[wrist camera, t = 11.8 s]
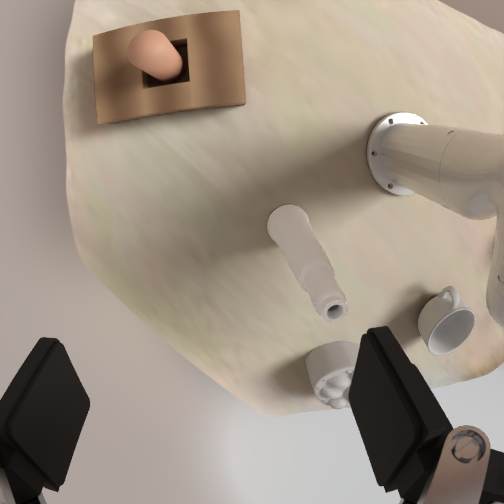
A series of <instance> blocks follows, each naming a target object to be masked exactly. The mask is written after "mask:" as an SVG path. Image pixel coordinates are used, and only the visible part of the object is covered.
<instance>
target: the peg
mask: <svg viewBox="0 0 504 504" xmlns="http://www.w3.org/2000/svg"><path fill="white" fill-rule="evenodd" d="M127 56H128V59H129V61H130V62H131V63H132V64H133V65H134V66H136V67H138V68H139V69H141V70H143V71H145V72H146V73H148V74H150V75H152V76H153V77H155V78H157V79H158V80H160V81H162V82H164V83H174V82H176V81H178V80H180V79H181V78H182V77H183V75H184V73H185V71H186V64H185V62H184V60H183V59H182V57H181V56H180V55H179V53H178V52H177V51H176V49H175V48H174V47H173V45H172V44H171V43H170V41H169V40H168V39H167V37H166V36H165V35H164V34H163V33H161V32H159V31H156V30H147V31H143V32H141V33H139V34H138V35H136V36H135V37H134V38H133V39H132V40H131V42H130V44H129V46H128V50H127Z"/></svg>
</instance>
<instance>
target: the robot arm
mask: <svg viewBox="0 0 504 504" xmlns="http://www.w3.org/2000/svg"><path fill="white" fill-rule="evenodd" d="M388 120H389V122H388ZM372 151H373V154H372ZM367 160H368V165H369V168H370V171H371V173H372V175H373V177H374V179H375V180H376V181H377V183H378V184H379V185H380V186H381V187H383V188H384V189H385V190H387V191H389V192H391V193H393V194H396V195H401V196H408V195H412V194H415V193H417V194H419V195H421V196H424V197H426V198H428V199H430V200H432V201H434V202H436V203H438V204H440V205H442V206H444V207H446V208H448V209H449V210H452V211H454V212H456V213H457V214H459V215H461V216H463V217H466V218H468V219H473V220H484V219H488V218H491V217H494V216H496V215H497V223H496V236H495V243H494V250H493V256H492V262H491V267H490V272H489V278H488V284H487V290H486V303H487V308H488V310H489V313H490V315H491V316H492V318H493V319H494V320H495V321H496V322H497V323H498V324H499V325H500V326H501V327H503V328H504V135H501V134H493V133H485V132H479V131H473V130H466V129H459V128H452V127H445V126H436V125H428V124H427V122H426V121H425V120H423V119H422V118H421V117H419V116H417V115H415V114H412V113H408V112H397V113H392V114H389V115H387V116H385V117H384V118H382V119H381V120H380V121H379V122H378V123H377V124H376V125H375V127H374V129H373V130H372V132H371V135H370V137H369V140H368V145H367ZM388 184H389V186H388ZM348 398H349V403H350V406H351V409H352V412H353V414H354V417H355V420H356V423H357V425H358V428H359V431H360V434H361V437H362V439H363V442H364V445H365V448H366V451H367V454H368V457H369V460H370V463H371V466H372V469H373V472H374V475H375V477H376V481H377V483H378V485H379V486H384V488H385V491H386V493H387V492H390V491H393V490H396V489H398V492H399V494H400V497H401V501H400V503H399V504H504V453H503V452H500V451H496V450H493V449H490V442H489V439H488V437H487V436H486V434H485V433H484V432H483V431H481V430H480V429H479V428H476V427H474V426H468V425H465V426H459V427H457V428H455V429H453V427H452V425H451V424H450V422H449V420H448V418H447V417H446V415H445V413H444V411H443V410H442V408H441V406H440V405H439V403H438V401H437V400H436V398H435V397H434V394H433V393H432V391H431V389H430V388H429V386H428V384H427V383H426V381H425V380H424V378H423V376H422V375H421V373H420V372H419V370H418V368H417V367H416V366H415V365H414V364H412V363H411V362H410V360H409V359H408V357H407V355H406V354H405V352H404V351H403V349H402V348H401V346H400V344H399V343H398V341H397V340H396V338H395V337H394V335H393V334H392V332H391V331H390V329H389V328H388V327H387V326H383V327H376V328H370V329H368V331H367V334H363V335H362V338H361V342H360V347H359V352H358V356H357V360H356V365H355V369H354V373H353V377H352V381H351V385H350V389H349V393H348ZM89 408H90V400H89V397H88V395H87V393H86V392H85V389H84V388H83V386H82V384H81V382H80V380H79V377H78V376H77V373H76V371H75V369H74V367H73V365H72V363H71V361H70V359H69V356H68V354H67V352H66V350H65V347H64V345H63V344H62V343H60V341H59V340H58V339H56V338H46V337H43V338H40V339H39V341H38V342H37V343H36V345H35V346H34V348H33V349H32V351H31V352H30V354H29V355H28V357H27V358H26V360H25V361H24V363H23V365H22V366H21V368H20V369H19V371H18V372H17V374H16V375H15V377H14V378H13V380H12V382H11V383H10V385H9V387H8V388H7V390H6V392H5V393H4V395H3V397H2V398H1V400H0V504H47V503H46V501H45V499H44V497H43V494H42V492H41V491H42V488H43V487H45V488H47V489H50V490H53V491H56V492H58V491H59V487H60V486H61V485H63V483H64V481H65V478H66V475H67V472H68V469H69V466H70V462H71V459H72V456H73V453H74V450H75V447H76V444H77V442H78V439H79V436H80V433H81V430H82V427H83V424H84V422H85V419H86V416H87V414H88V411H89Z"/></svg>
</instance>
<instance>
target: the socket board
mask: <svg viewBox="0 0 504 504" xmlns="http://www.w3.org/2000/svg"><path fill="white" fill-rule="evenodd" d="M147 30H156V31H159V32H161V33H163V34H164V35H165V36H166V37H167V39H168V40H169V41H170V43H171V44H172V45H173V47H174V48H175V49H176V51H177V52H178V53H179V55H180V56H181V57H182V59H183V60H184V62H185V64H186V71H185V73H184V75H183V77H182V78H181V79H180V80H178V81H176V82H174V83H164V82H162V81H160V80H158V79H157V78H155V77H153V76H152V75H150V74H148V73H146V72H145V71H143V70H141V69H139V68H138V67H136V66H134V65H133V64H132V63H131V62H130V61H129V59H128V56H127V50H128V46H129V44H130V42H131V40H132V39H133V38H134V37H135V36H136V35H138V34H139V33H141V32H143V31H147ZM93 66H94V86H95V101H96V113H97V123H98V124H112V123H117V122H122V121H127V120H132V119H137V118H143V117H148V116H154V115H160V114H167V113H174V112H181V111H188V110H196V109H205V108H215V107H225V106H238V105H245V103H246V93H245V80H244V66H243V53H242V39H241V26H240V13H239V10H234V11H221V12H210V13H201V14H192V15H185V16H178V17H172V18H166V19H160V20H155V21H150V22H145V23H140V24H136V25H132V26H127V27H123V28H119V29H116V30H112V31H108V32H105V33H101V34H98V35H94V36H93Z"/></svg>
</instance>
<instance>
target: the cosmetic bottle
mask: <svg viewBox="0 0 504 504" xmlns="http://www.w3.org/2000/svg"><path fill="white" fill-rule="evenodd" d="M267 229H268V233H269V235H270V237H271V238H272V239H273V240H274V241H275V242H276V243H277V245H278V246H279V247H280V249H281V251H282V252H283V254H284V256H285V258H286V260H287V262H288V264H289V266H290V268H291V270H292V272H293V273H294V275H295V277H296V279H297V281H298V282H299V284H300V286H301V288H302V289H303V290H304V291H306V292H308V294H309V296H310V298H311V301H312V303H313V305H314V307H315V310H316V312H317V313H318V314H319V315H320V316H322V317H323V319H324V320H325V321H326V322H329V323H335V322H338V321H340V320H342V319H343V318H344V317H345V316H346V314H347V311H348V307H347V304H346V297H345V295H344V293H343V291H342V290H341V288H340V286H339V285H338V283H337V282H336V280H335V278H334V277H335V273H334V269H333V267H332V265H331V263H330V261H329V259H328V257H327V256H326V254H325V252H324V250H323V248H322V247H321V245H320V243H319V241H318V240H317V238H316V236H315V234H314V232H313V230H312V228H311V226H310V223H309V218H308V216H307V214H306V212H305V211H304V210H303V209H302V208H300V207H298V206H295V205H283V206H280V207H278V208H277V209H275V210H274V211H273V212H272V214H271V215H270V217H269V219H268V223H267Z"/></svg>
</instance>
